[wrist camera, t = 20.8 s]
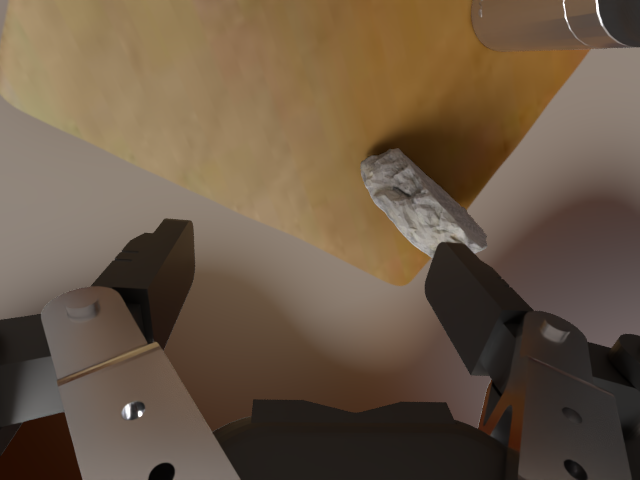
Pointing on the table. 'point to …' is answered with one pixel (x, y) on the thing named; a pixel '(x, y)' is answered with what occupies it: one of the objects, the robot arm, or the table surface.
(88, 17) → the table surface
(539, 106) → the table surface
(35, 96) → the table surface
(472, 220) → the decorative rock
